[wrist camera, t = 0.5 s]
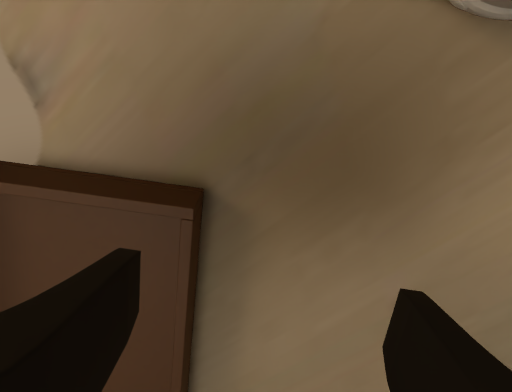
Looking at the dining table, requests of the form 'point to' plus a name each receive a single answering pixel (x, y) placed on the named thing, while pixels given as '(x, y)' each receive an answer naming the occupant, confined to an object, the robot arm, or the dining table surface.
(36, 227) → the tray
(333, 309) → the dining table surface
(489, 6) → the mug
